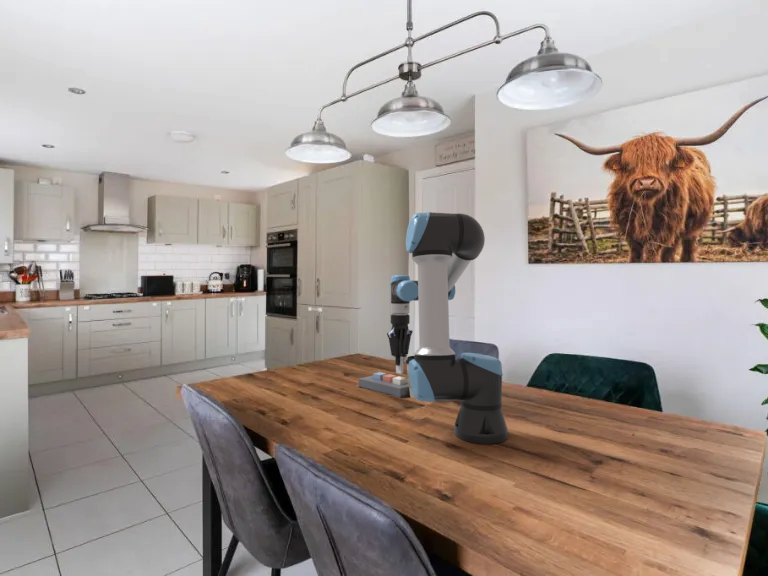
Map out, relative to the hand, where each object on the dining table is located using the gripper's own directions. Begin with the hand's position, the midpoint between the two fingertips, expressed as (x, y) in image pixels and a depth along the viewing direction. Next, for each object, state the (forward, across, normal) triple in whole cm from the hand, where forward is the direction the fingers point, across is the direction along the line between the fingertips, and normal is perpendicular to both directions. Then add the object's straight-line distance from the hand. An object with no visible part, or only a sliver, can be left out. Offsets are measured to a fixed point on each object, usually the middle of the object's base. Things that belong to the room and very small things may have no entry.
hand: (399, 373), depth 172 cm
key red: (+5, 0, +5) cm, 7 cm away
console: (+8, 0, +5) cm, 9 cm away
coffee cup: (+8, 0, -10) cm, 12 cm away
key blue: (+5, 0, +11) cm, 12 cm away
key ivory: (+4, 0, 0) cm, 4 cm away
